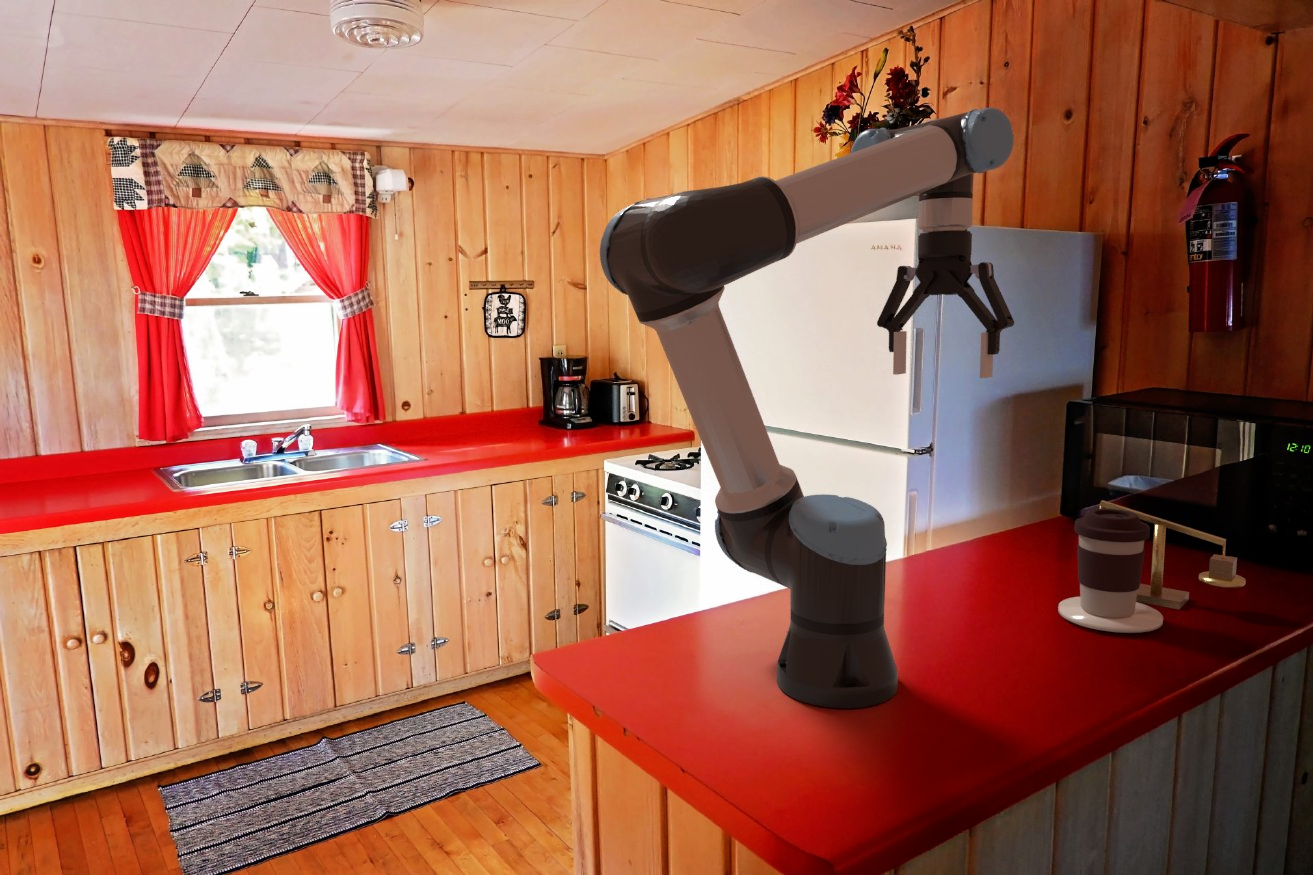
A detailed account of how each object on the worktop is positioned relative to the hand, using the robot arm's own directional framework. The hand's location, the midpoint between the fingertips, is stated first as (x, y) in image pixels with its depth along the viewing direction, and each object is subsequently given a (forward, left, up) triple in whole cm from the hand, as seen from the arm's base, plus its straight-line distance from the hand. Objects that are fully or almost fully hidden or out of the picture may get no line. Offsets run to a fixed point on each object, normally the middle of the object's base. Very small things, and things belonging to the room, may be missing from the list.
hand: (941, 375), depth 136 cm
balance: (+26, -25, -37) cm, 51 cm away
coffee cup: (+12, -22, -36) cm, 43 cm away
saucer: (+12, -22, -37) cm, 44 cm away
